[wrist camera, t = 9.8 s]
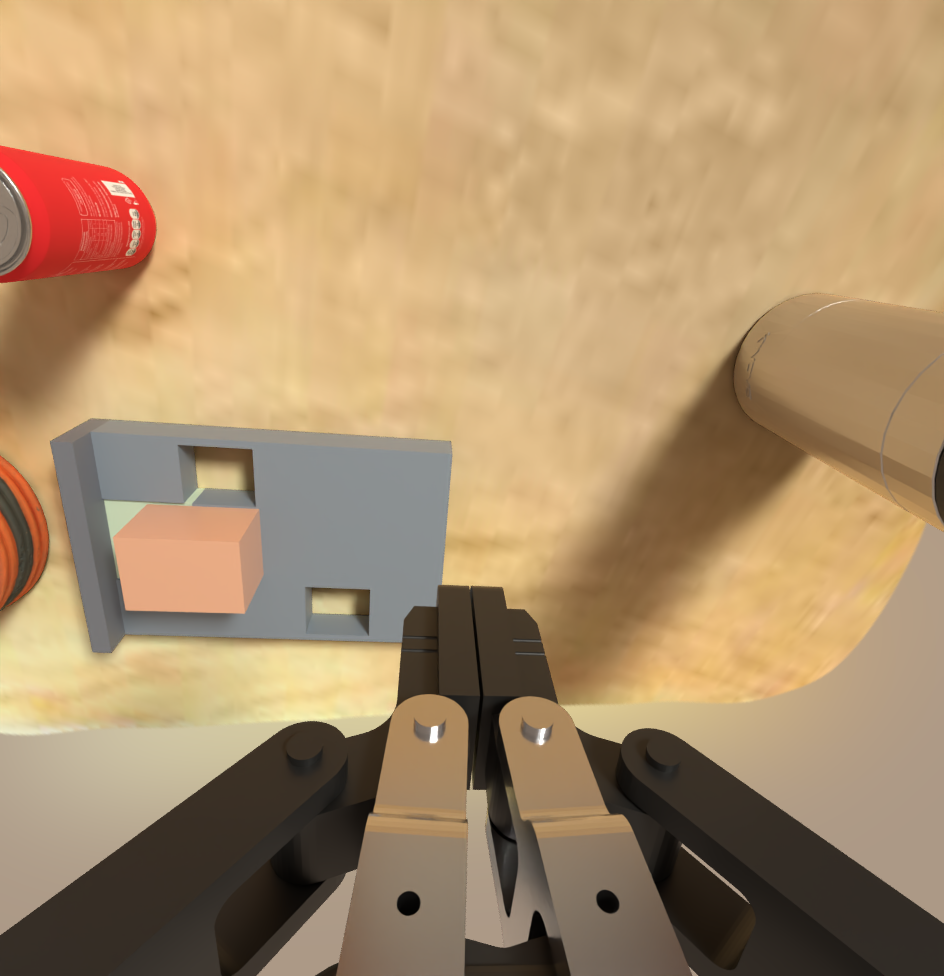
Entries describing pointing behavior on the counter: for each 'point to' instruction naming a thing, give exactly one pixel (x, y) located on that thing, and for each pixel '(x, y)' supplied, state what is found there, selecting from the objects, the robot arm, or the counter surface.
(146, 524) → the terracotta block
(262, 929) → the robot arm
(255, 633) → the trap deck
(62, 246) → the beverage can
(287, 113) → the counter surface
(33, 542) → the beer stein
